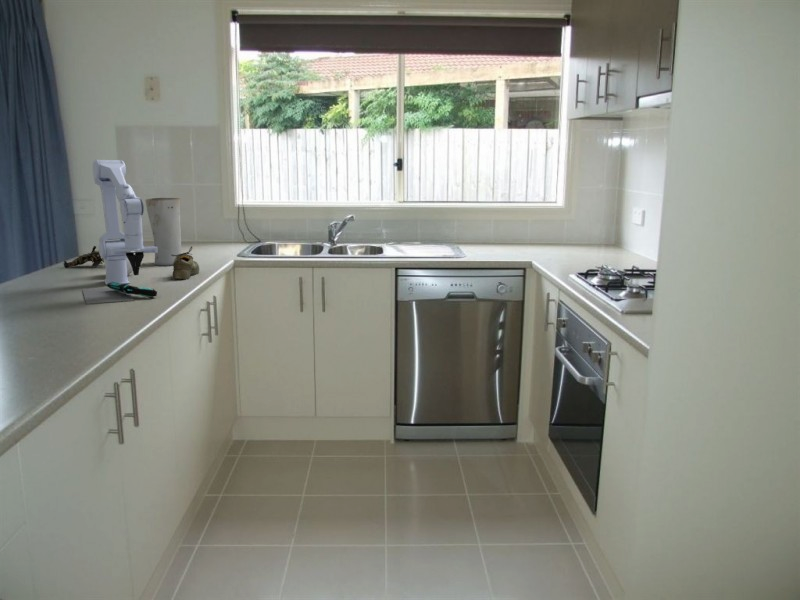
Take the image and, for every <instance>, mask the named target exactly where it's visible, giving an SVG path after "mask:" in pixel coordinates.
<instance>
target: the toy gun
mask: <svg viewBox="0 0 800 600" xmlns="http://www.w3.org/2000/svg"><path fill="white" fill-rule="evenodd" d="M106 286H107V287H106V288H111V289H113V290H117V291H121V292H123V293H127V294H131V295H137V296H141V297H145V298H146V297H148V298H154V297H157V295H158V291H156V290H155V289H154V288H151V287H144V286H143V287H139V286H134V285H129V284H121V283H115V282H112V283H108V284H107V285H106Z"/></svg>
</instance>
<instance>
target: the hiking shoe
mask: <svg viewBox="0 0 800 600" xmlns="http://www.w3.org/2000/svg"><path fill="white" fill-rule="evenodd" d="M192 250H193V246H191V247H189V250H188V251H187V252H182V253H181V254H178V255H172V256H176V258H175V259H174V263H173V269H172V270H173V271H172V277H171V278H172V280H174V279H175V280H177V279H178V280H179V281H181V280H182V279H183V280H184V281H185V280H186V279H187V280H189V279H190V278H191V276H195V275H196V274H197V275H198V274H199V273H200V266H199V263H198V262H197V261H195V260H194V256H192V255H193V254H192V253H190V252H191V251H192ZM180 279H181V280H180ZM187 280H186V281H187Z"/></svg>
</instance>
